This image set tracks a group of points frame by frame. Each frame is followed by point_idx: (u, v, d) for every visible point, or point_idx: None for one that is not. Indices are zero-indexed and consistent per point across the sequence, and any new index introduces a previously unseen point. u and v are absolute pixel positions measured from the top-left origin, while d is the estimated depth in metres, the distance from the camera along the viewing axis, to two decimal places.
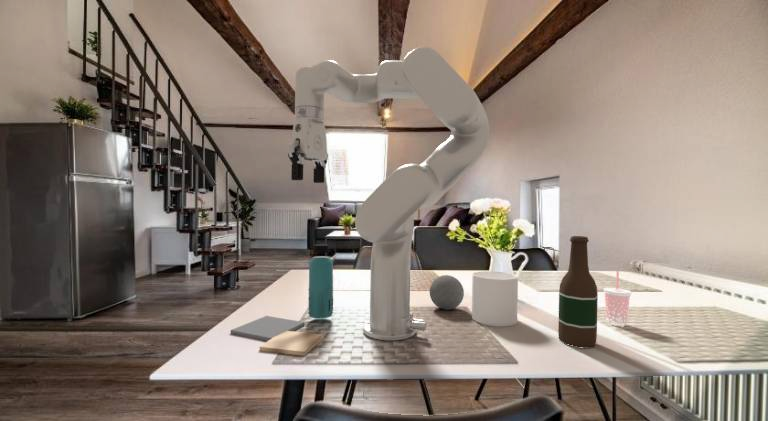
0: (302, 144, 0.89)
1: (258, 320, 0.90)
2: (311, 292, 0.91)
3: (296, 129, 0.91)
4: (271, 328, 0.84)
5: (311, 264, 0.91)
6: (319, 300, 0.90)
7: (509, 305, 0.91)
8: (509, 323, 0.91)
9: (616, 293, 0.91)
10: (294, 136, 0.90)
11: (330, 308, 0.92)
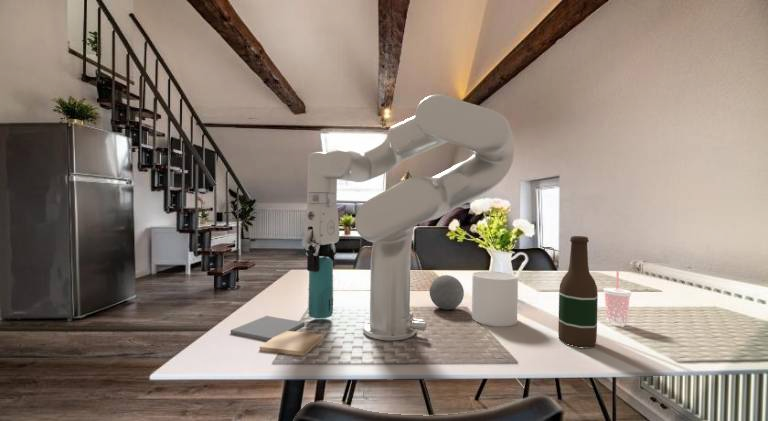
0: (315, 233, 0.88)
1: (258, 320, 0.90)
2: (311, 292, 0.91)
3: (309, 216, 0.89)
4: (271, 328, 0.84)
5: None
6: (319, 300, 0.90)
7: (509, 305, 0.91)
8: (509, 323, 0.91)
9: (616, 293, 0.91)
10: (307, 224, 0.89)
11: (330, 308, 0.92)
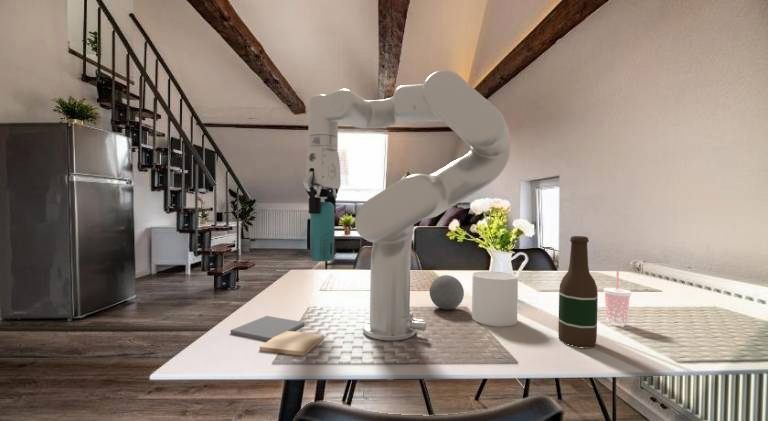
0: (317, 174, 0.87)
1: (258, 320, 0.90)
2: (313, 235, 0.91)
3: (310, 158, 0.89)
4: (271, 328, 0.84)
5: None
6: (320, 243, 0.90)
7: (509, 305, 0.91)
8: (509, 323, 0.91)
9: (616, 293, 0.91)
10: (308, 166, 0.89)
11: (332, 252, 0.92)
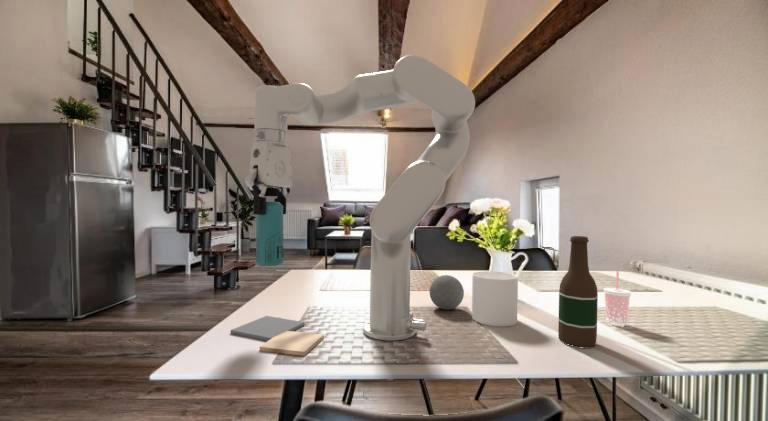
0: (260, 171, 0.80)
1: (258, 320, 0.90)
2: (258, 238, 0.84)
3: (255, 154, 0.82)
4: (271, 328, 0.84)
5: None
6: (266, 246, 0.83)
7: (509, 305, 0.91)
8: (509, 323, 0.91)
9: (616, 293, 0.91)
10: (252, 162, 0.81)
11: (279, 256, 0.84)
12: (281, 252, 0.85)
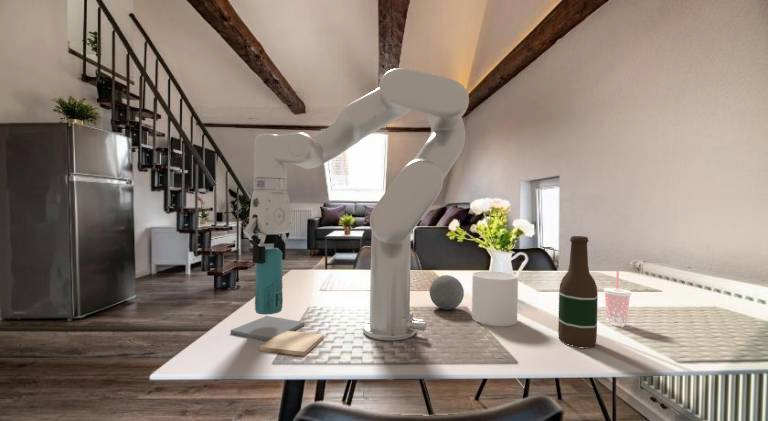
0: (260, 221, 0.80)
1: (258, 320, 0.90)
2: (257, 286, 0.84)
3: (254, 203, 0.82)
4: (271, 328, 0.84)
5: None
6: (264, 294, 0.83)
7: (509, 305, 0.91)
8: (509, 323, 0.91)
9: (616, 293, 0.91)
10: (252, 211, 0.82)
11: (278, 304, 0.85)
12: (280, 299, 0.85)
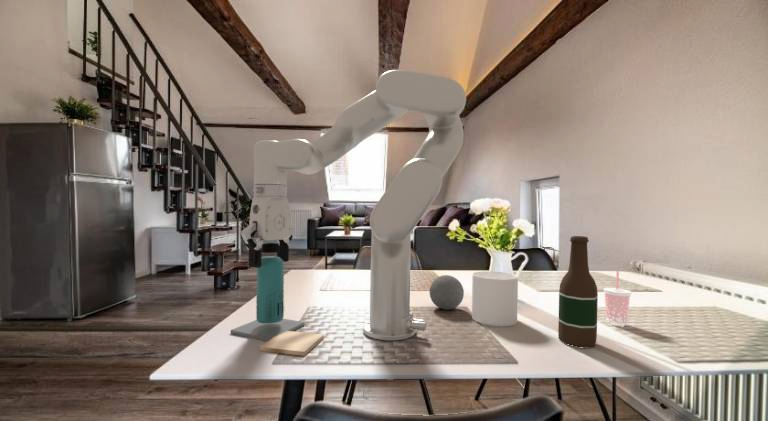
0: (260, 228, 0.80)
1: None
2: (258, 295, 0.84)
3: (254, 210, 0.82)
4: (271, 328, 0.84)
5: None
6: (266, 303, 0.83)
7: (509, 305, 0.91)
8: (509, 323, 0.91)
9: (616, 293, 0.91)
10: (251, 218, 0.82)
11: (280, 312, 0.85)
12: (281, 308, 0.85)
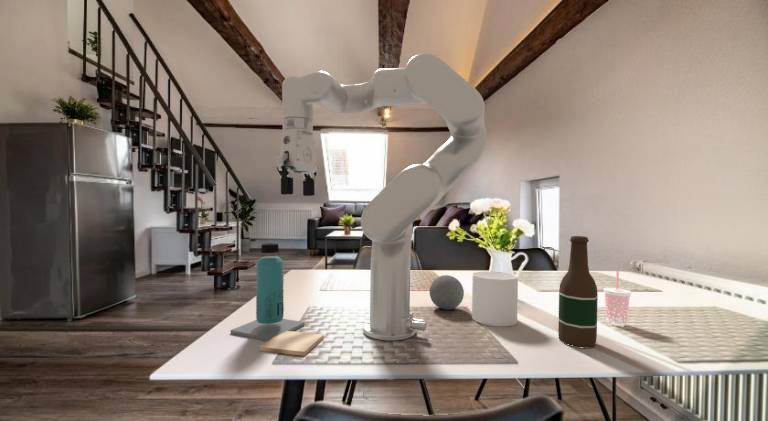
0: (291, 157, 0.86)
1: None
2: (258, 295, 0.84)
3: (284, 141, 0.87)
4: (271, 328, 0.84)
5: (258, 265, 0.84)
6: (266, 304, 0.83)
7: (509, 305, 0.91)
8: (509, 323, 0.91)
9: (616, 293, 0.91)
10: (283, 149, 0.87)
11: (280, 313, 0.85)
12: (281, 308, 0.85)
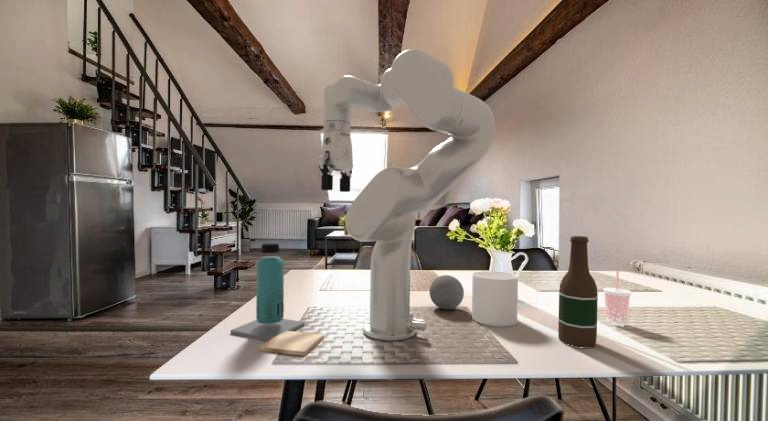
0: (332, 156, 0.95)
1: None
2: (258, 295, 0.84)
3: (325, 142, 0.97)
4: (271, 328, 0.84)
5: (258, 265, 0.84)
6: (266, 304, 0.83)
7: (509, 305, 0.91)
8: (509, 323, 0.91)
9: (616, 293, 0.91)
10: (324, 149, 0.96)
11: (280, 313, 0.85)
12: (281, 308, 0.85)
